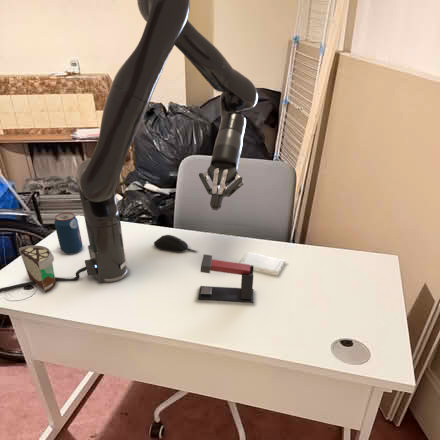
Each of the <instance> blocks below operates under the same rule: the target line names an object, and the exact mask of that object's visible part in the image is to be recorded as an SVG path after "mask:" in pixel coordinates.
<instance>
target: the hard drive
mask: <svg viewBox="0 0 440 440" xmlns="http://www.w3.org/2000/svg"><path fill="white" fill-rule="evenodd" d="M239 263H241V264H248V265H253V266H254V267H253V271H257V272H263V273H268V274H272V275H276V276H278V275H279V273H280V272H281V270H282V269H283V267H284V265H285V263H286V260H284V259H280V258H276V257H272V256H268V255H263V254H258V253H255V252H249V251H248V252H247V253H246V254H245V255H244V257H243V258H242V259H241V260H240V261H239Z"/></svg>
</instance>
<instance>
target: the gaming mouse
mask: <svg viewBox="0 0 440 440" xmlns="http://www.w3.org/2000/svg"><path fill="white" fill-rule="evenodd" d="M153 245H154V247H155V248H157V249H158V250H163V251H167V252H174V253H183V252H185V251H190V252H193V253H196V250H194V249H192V248H189V246H188V243H187V242H186V241H184V240H183V239H181V238H179V237H177V236H175V235H171V234H165V235H161V236H160V237H159V238H157V239H156V240H155V241H154V242H153Z"/></svg>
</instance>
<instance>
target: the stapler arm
mask: <svg viewBox="0 0 440 440" xmlns="http://www.w3.org/2000/svg"><path fill="white" fill-rule="evenodd" d="M211 272H218V273H223V274H224V273H225V274H231V275H238V276H239V275H240V276H242V274H250V265H248V264H241V263H240V262H233V261H225V260H219V259H213V255H211V254H205V253H204V254H203V256H202V260H201V264H200V273H203V274H210V273H211Z"/></svg>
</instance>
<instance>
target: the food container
mask: <svg viewBox="0 0 440 440" xmlns="http://www.w3.org/2000/svg"><path fill="white" fill-rule="evenodd" d="M18 252H19V255H20V256H21V258H22V261H23V265H24V268H25V271H26V274H27V276H28V279H29V282H31V281H35V282H36V284H34V285H35V286H36V287H37V288H39V289H40V290H41V291H42V292H44V293H48V292H49V291H51V290H52V289H54V287H55V286H56V283H57V282H56V281H55V277H56V276H55V271H54V265H53V263H54V260H55V256H54V254H53V253H52V251H51V250H50V248H48V247H47V246H43V245H26V246H21V247H19V248H18Z"/></svg>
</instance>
